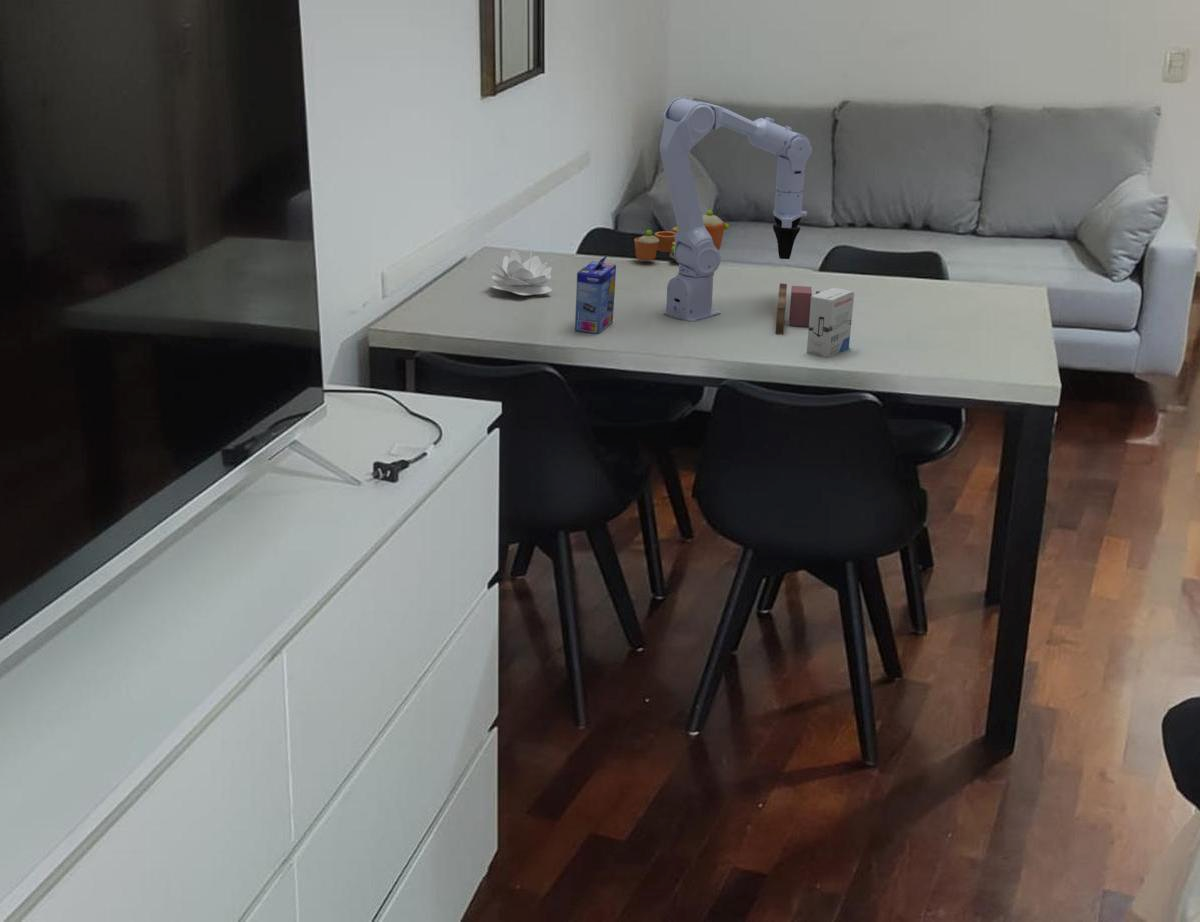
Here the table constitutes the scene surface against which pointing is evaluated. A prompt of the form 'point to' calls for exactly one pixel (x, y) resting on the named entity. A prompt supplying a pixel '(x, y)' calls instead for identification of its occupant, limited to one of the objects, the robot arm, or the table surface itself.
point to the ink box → (830, 322)
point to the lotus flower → (522, 275)
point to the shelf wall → (781, 308)
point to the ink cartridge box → (595, 297)
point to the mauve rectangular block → (800, 306)
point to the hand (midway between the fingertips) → (784, 254)
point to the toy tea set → (666, 241)
